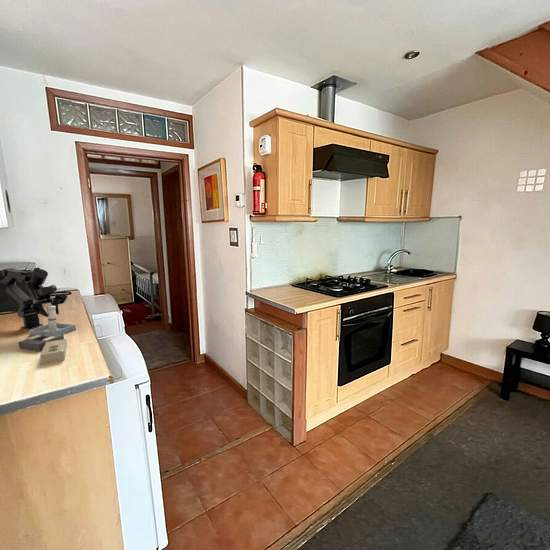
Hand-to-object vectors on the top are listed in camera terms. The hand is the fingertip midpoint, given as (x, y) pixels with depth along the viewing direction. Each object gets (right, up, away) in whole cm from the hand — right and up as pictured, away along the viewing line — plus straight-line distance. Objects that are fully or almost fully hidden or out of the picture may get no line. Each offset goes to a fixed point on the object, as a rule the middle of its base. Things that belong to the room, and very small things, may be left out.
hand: (52, 315), depth 143 cm
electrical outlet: (+19, -13, -23) cm, 33 cm away
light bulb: (-1, -8, +2) cm, 8 cm away
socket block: (+6, -11, -14) cm, 19 cm away
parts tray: (-1, -9, +2) cm, 9 cm away
